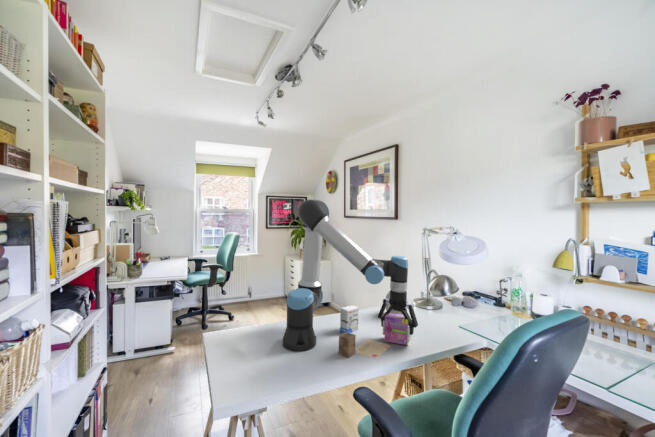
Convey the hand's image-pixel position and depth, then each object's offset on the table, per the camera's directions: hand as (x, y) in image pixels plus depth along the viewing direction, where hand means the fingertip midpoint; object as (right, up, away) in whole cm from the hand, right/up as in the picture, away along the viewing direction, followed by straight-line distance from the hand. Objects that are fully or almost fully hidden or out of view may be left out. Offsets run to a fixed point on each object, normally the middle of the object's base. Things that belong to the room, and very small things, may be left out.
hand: (396, 337), depth 138 cm
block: (-24, -2, -12) cm, 27 cm away
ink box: (-21, -2, +12) cm, 24 cm away
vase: (+7, -1, +33) cm, 34 cm away
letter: (-12, -2, -7) cm, 14 cm away
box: (0, -2, 0) cm, 2 cm away
